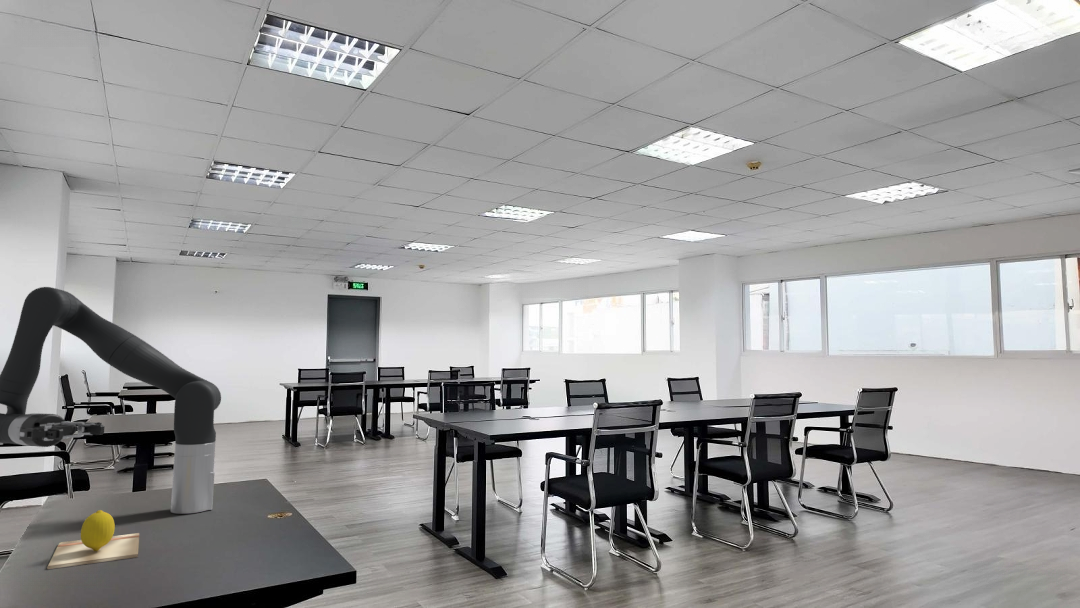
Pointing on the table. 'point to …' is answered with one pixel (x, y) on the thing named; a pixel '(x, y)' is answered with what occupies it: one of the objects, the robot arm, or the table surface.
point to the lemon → (97, 530)
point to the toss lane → (81, 555)
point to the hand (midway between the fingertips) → (82, 432)
